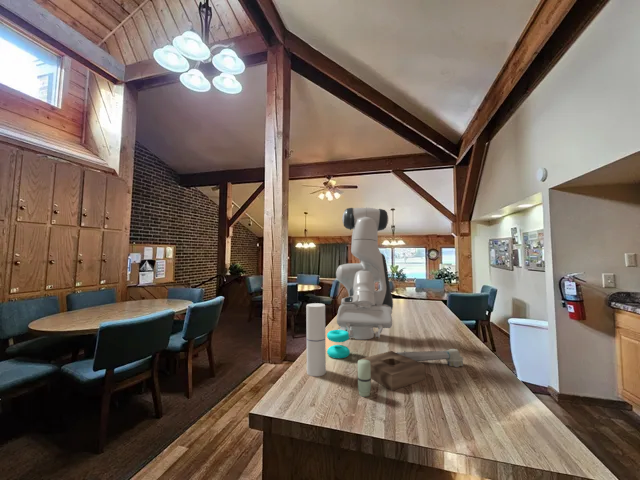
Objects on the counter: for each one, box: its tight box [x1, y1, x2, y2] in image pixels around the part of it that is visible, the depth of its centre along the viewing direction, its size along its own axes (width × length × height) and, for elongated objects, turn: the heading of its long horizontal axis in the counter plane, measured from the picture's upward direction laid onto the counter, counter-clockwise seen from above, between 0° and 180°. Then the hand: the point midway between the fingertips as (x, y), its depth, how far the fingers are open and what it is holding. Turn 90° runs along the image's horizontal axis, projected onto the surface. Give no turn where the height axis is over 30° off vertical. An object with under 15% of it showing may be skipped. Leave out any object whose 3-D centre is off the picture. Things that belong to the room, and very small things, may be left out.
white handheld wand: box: [396, 348, 464, 368], centre depth 111 cm, size 5×7×25 cm
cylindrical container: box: [305, 302, 327, 377], centre depth 104 cm, size 7×7×25 cm
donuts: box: [326, 329, 351, 359], centre depth 121 cm, size 10×10×10 cm
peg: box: [357, 358, 372, 398], centre depth 87 cm, size 4×4×10 cm
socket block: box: [359, 350, 426, 391], centre depth 100 cm, size 16×16×5 cm
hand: (364, 336), depth 97 cm, fingers open, 8 cm apart
